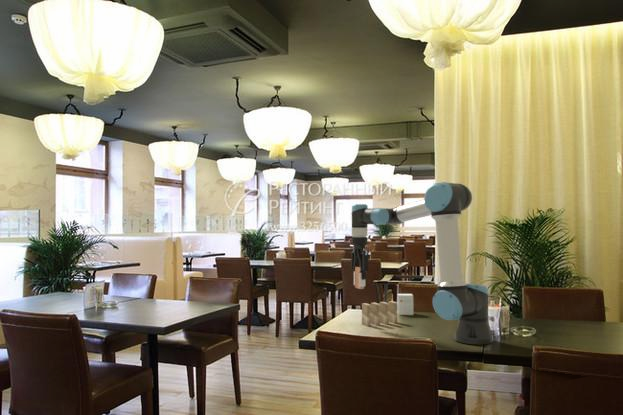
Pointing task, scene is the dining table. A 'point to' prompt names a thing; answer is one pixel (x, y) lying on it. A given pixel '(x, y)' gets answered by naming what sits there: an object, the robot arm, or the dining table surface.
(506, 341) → the dining table surface
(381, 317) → the domino
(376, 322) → the domino
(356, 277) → the domino
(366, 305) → the domino
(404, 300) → the small box
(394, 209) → the robot arm
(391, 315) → the domino
